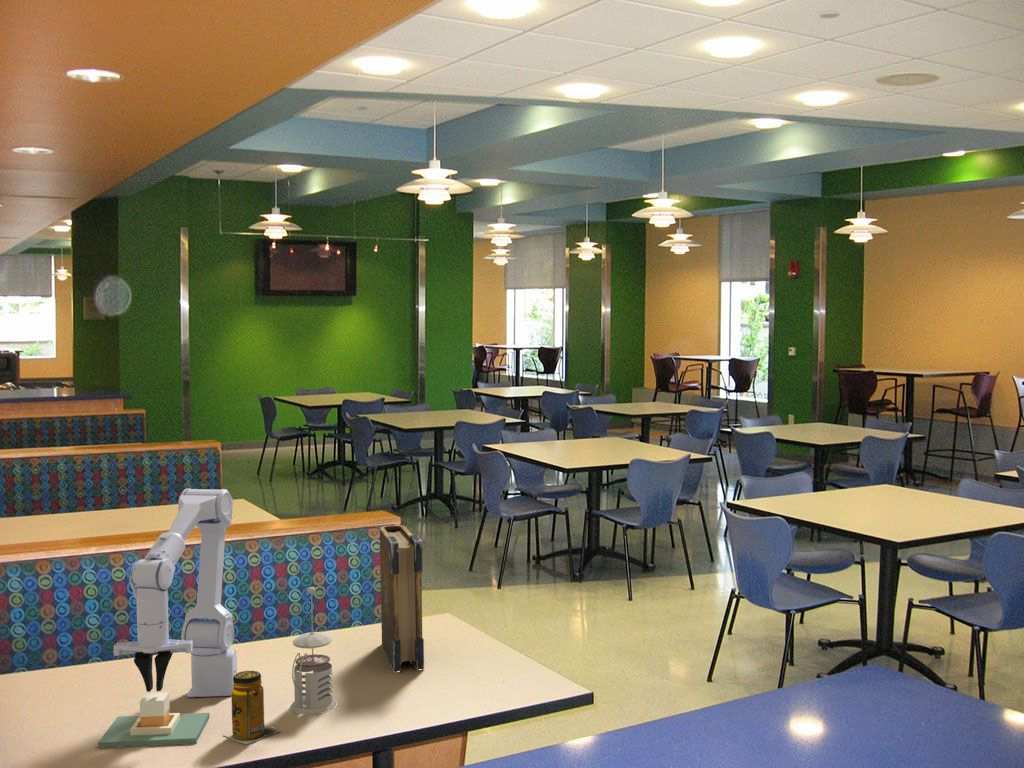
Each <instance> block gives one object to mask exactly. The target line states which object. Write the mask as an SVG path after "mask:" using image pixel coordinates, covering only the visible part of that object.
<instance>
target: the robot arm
mask: <svg viewBox="0 0 1024 768" xmlns="http://www.w3.org/2000/svg"><path fill="white" fill-rule="evenodd" d="M233 501H234V500H233V497H232V496H231V493H230V492H229V490H228V489H226V488H222V489H208V488H207V489H206V488H203V489H202V488H200V489H198V488H189V487H188V488H185V489H183V490H182V492H181V493H180V495H179V498H178V502H177V503H178V505H177V506H178V507H177V508H178V512H177V514H176V517H175V518H174V520H173V522H172V524H171V526H170V528H169V530H168V532H167V531H166V532H163V533H161V534H159V535H158V537H157V539H156V540H155V542H154V543H153V545H152V546H151V548H150V549H149V551H148V552H147V554H146V555H145V557H144V558H142V559H139V560H137V561H136V562H134V563H133V565H132V566H131V570H130V573H129V574H130V575H129V577H128V579H129V580H128V581H129V585H130V586H131V589H132V596H133V598H134V599H135V600H136V625H137V626H136V628H137V640H136V641H135V640H134V641H129V642H117V643H115V644H114V645H113V657H117V656H118V657H119V656H123V655H134V658H133V663H134V664H135V666H136V668H137V669H138V671H139V673H140V674H141V677H142V680H143V682H144V686H145V690H146V693H151V691H152V690H153V688H154V679H153V654H157V655H155V657H154V666H155V675H156V678H155V681H156V683H155V688H156V692H161V691H162V689H163V687H164V680H165V675H166V673H167V668H168V666H169V663H170V660H171V659H172V656H173V654H175V653H185V654H190V661H191V662H190V663H191V664H190V669H191V671H190V672H191V688H189V691H188V692H187V694H186V698H204V697H207V698H208V697H226V696H227V697H228V696H229V697H231V691H232V689H233V676H234V675H235V674H237V673H238V658H237V657H238V655H237V651H236V650H235V649H231V648H230V647H231V646H232V645H233V642H234V638H235V629H234V628H235V627H234V623H233V621H234V620H233V614H232V613H231V612H230V611H229V610H228V609H227V608H225V607H224V606H223V605H222V603H221V602H222V590H223V588H222V587H223V575H224V574H223V572H224V560H225V559H224V558H225V557H224V555H225V541H226V529H227V528H229V527H231V526H232V520H233V505H234V504H233V503H234V502H233ZM195 527H197V528H198V530H199V531H200V532H201V534H200V552H199V566H198V583H197V596H196V605H195V607H193V608H192V609H190V610H189V611H188V612H187V613H185V618H184V624H183V626H182V629H181V633H180V634H181V637H180V638H181V639H171V638H170V634H169V633H170V631H169V628H170V627H169V602H168V601H169V599H168V596H169V595H168V594H169V593H168V590H169V588H170V586H171V585H172V584H173V579H174V574H175V572H176V564H177V563H178V562H179V560H180V558H181V557H182V555H183V553H184V551H185V550H186V544H185V543H186V542H185V540H186V539H187V537H188V536H189V535H190V534H191V533H192V531H193V530H194V529H195ZM169 638H170V639H169ZM229 648H230V649H229Z"/></svg>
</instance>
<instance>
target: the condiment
mask: <svg viewBox="0 0 1024 768" xmlns="http://www.w3.org/2000/svg"><path fill="white" fill-rule="evenodd" d="M264 695H265V694H264V686H263V685H262V675H261V673H260V672H259V671H256V670H244V671H239V672H237V674H235V675H234V676H233V689H232V691H231V696H230V697H231V728H232V731H231V732H229V733H227V734H223V736H224V737H227V738H228V739H231V740H232V741H236V742H237V743H241V744H242V745H243V744H244V745H248V744H251V743H254V742H257V741H260V740H263V739H264V738H267V737H268V736H271V735H275V734H276V733H278V732H281V731H283V730H282V729H278V728H275V727H273V726H270V725H267V724H265V699H264V698H265V697H264Z"/></svg>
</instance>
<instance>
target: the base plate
mask: <svg viewBox="0 0 1024 768" xmlns="http://www.w3.org/2000/svg"><path fill="white" fill-rule="evenodd" d="M209 717H211V716H210V712H193V713H180V712H173V713H172V712H170V723H169V725H168V726H162V727H141V726H140V715H123V716H121V715H119V716H116V718H115V720H113V721H112V723H111V724H110V726H109V727H108V729H107V730H106V731H105V732H104V734H103V735H102V737H101V738H100V739H99V741H98V742H97V748H98V749H102V748H120V747H121V748H122V747H123V746H126V747H143V746H144V747H146V746H147V745H148V746H164V745H165V746H167V745H185V744H186V745H189V744H197V743H198V741H199V739H200V737H201V735H202V733H203V731H204V729H205V727H206V725H207V724H208V721H209V719H210V718H209ZM148 746H147V747H148ZM123 748H124V747H123Z"/></svg>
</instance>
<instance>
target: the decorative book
mask: <svg viewBox="0 0 1024 768" xmlns="http://www.w3.org/2000/svg"><path fill="white" fill-rule="evenodd" d="M379 557H380V558H379V561H380V563H379V564H380V565H379V566H380V567H379V568H380V606H381V607H380V609H381V610H380V611H381V614H380V615H381V617H380V618H381V620H380V621H381V622H380V623H381V645H382V647H383V650H384V649H385V650H384V651H386V652H385V653H386V655H387V658H388V664H389V663H390V664H389V666H390V665H391V667H392V669H393V671H394V672H397V671H401V672H402V663H403V662H409V663H410V664H413V663H414V665H415V666H414V665H413V666H414V668H415V667H416V668H415V670H416V669H417V670H419V669H424V670H425V654H424V653H425V646H424V645H425V643H424V641H425V640H424V637H423V604H422V603H423V595H422V594H423V593H422V592H423V591H422V588H423V587H422V573H423V568H424V567H423V540H422V539H421V538H420V537H419V536H418V534H413V533H412V532H411V530H410V529H409V528H408V527H407V526H405V525H403V524H402V525H400V524H392V525H382V526H380V527H379ZM412 662H413V663H412ZM391 667H390V668H391ZM392 669H391V670H392ZM417 670H416V671H417ZM393 671H392V672H393Z"/></svg>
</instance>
